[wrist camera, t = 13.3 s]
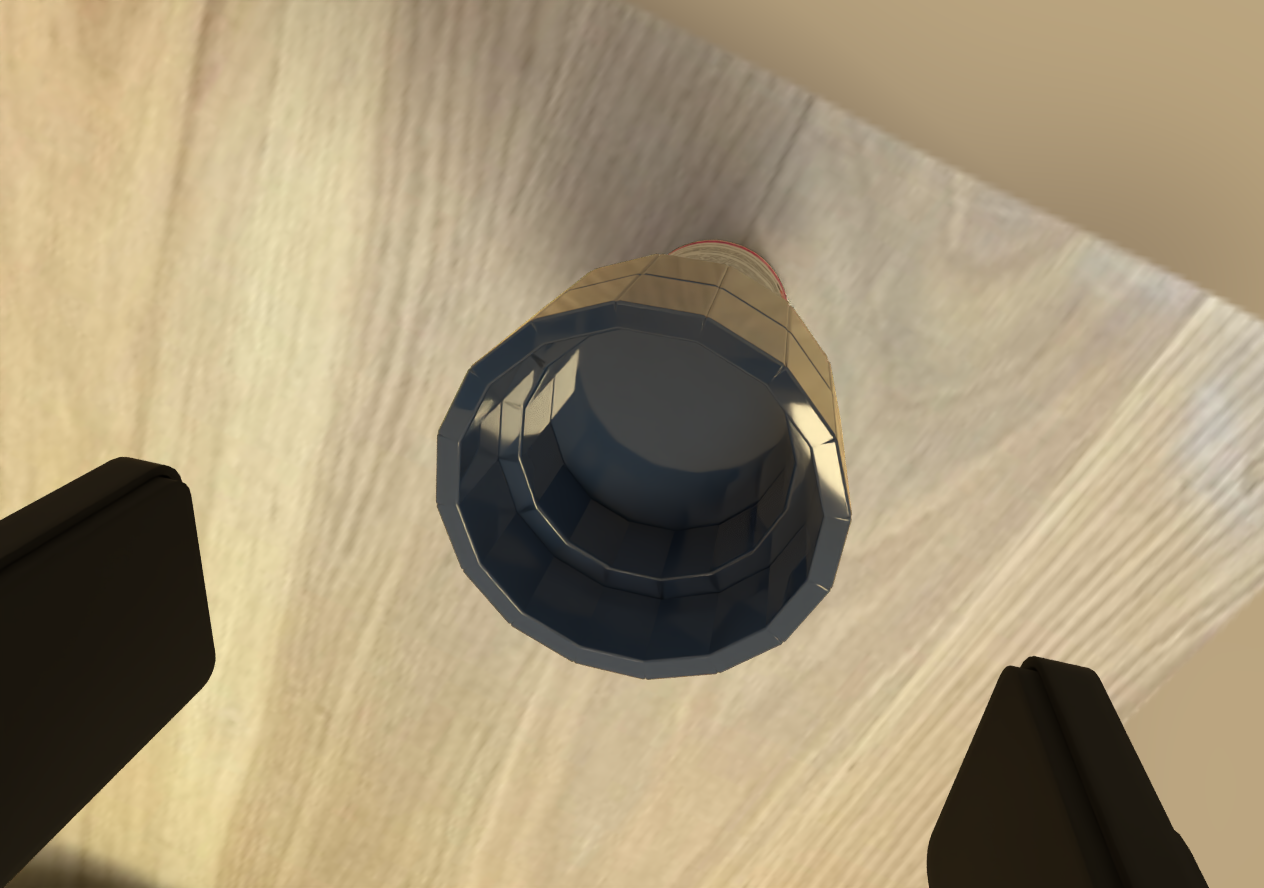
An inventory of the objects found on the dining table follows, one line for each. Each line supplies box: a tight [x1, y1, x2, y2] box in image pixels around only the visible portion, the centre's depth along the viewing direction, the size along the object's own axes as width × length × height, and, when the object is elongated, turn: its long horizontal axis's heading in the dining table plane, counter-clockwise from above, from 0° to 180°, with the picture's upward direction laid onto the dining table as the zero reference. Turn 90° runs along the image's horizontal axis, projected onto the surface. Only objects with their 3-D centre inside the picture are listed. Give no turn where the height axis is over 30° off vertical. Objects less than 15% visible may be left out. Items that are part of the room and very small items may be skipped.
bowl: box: [436, 254, 852, 680], centre depth 15 cm, size 7×7×5 cm
